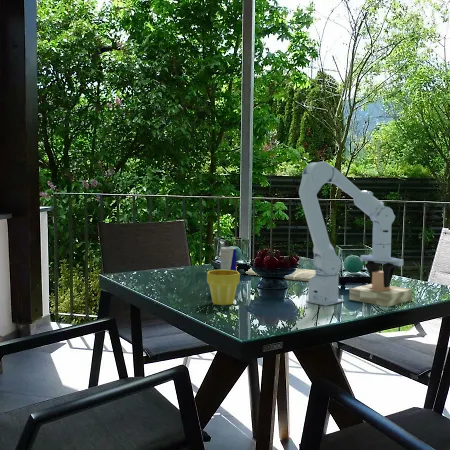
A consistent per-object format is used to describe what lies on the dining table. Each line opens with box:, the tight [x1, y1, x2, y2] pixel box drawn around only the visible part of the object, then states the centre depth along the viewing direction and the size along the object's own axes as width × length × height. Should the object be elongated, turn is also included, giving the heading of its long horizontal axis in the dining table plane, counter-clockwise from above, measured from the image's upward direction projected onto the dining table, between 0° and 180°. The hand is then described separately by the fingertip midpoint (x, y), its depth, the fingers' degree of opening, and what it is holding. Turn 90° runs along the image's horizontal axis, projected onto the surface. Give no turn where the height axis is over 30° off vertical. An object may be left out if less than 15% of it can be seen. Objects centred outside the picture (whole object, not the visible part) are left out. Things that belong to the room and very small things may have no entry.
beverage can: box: [220, 246, 238, 271], centre depth 196 cm, size 6×6×15 cm
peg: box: [371, 270, 390, 292], centre depth 179 cm, size 4×4×7 cm
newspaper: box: [245, 268, 316, 283], centre depth 228 cm, size 37×19×3 cm, turn 56°
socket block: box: [348, 283, 413, 308], centre depth 179 cm, size 14×14×4 cm
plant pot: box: [206, 269, 241, 306], centre depth 175 cm, size 10×10×10 cm
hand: (380, 285), depth 179 cm, fingers closed on peg, 4 cm apart
